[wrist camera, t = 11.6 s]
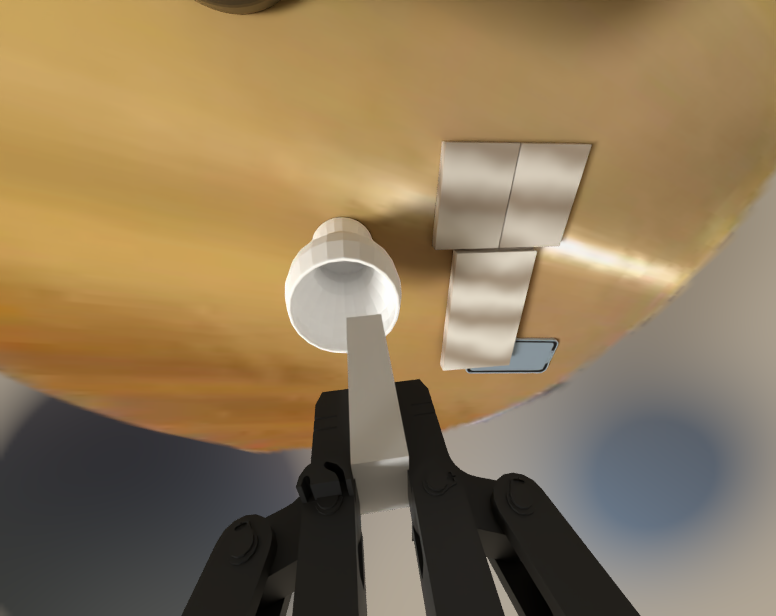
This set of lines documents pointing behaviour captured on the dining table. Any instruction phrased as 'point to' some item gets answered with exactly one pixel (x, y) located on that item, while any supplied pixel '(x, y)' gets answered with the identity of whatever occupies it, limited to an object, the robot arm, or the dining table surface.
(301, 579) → the robot arm
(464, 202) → the laid floor
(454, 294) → the silvery beige flat slab
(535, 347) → the smartphone
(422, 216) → the dining table surface
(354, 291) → the cup
